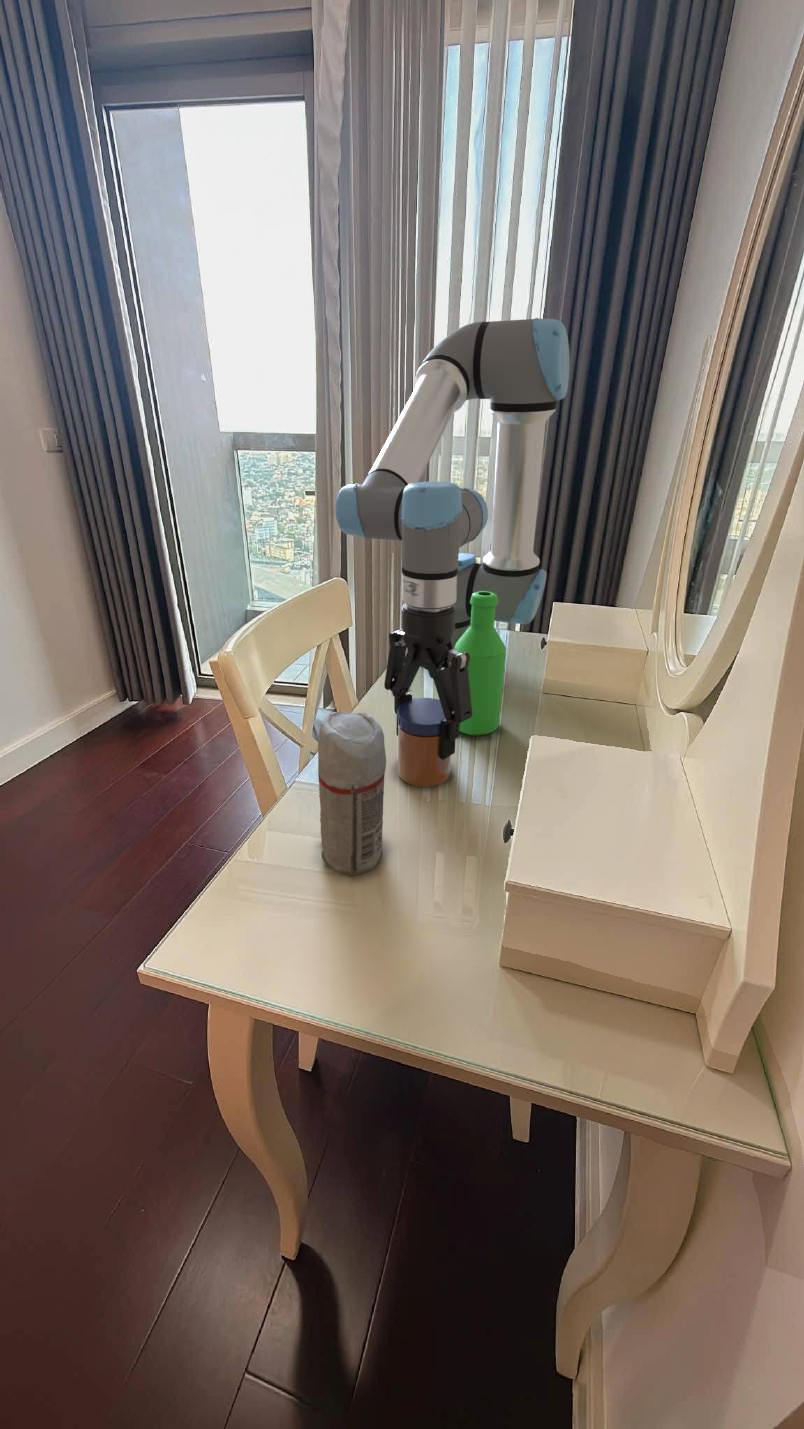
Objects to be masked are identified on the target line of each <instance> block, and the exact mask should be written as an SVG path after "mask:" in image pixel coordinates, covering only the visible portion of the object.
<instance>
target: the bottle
mask: <svg viewBox="0 0 804 1429" xmlns="http://www.w3.org/2000/svg"><path fill="white" fill-rule="evenodd" d="M470 604H471V605H472V609H471V625H470V627H469V628H468V629H467V630H466V632H465V633H464V634H463V635H462V637H461V638H460V639H459V640H458V642H457V643H456V645H455V649H454V650H456V651H458V652H459V653H464V652H468V653H469V655H470V660H469V665H468V676H469V686H470V696H471V705H472V717H471V718H469V719H467V720H465V721H463V722H461V723H460V729H459V733H462V734H464V735H467V736H472V737H473V736H476V737H479V736H485V735H489V734H491V733H493V732H494V731H496V730H497V729H498V728H499V724H500V718H501V707H502V698H503V688H504V676H505V667H506V656H507V647H506V645H505V644H504V642H503V640H502V638H501V637H500V635H499V633H498V632H497V629H496V628H495V621H494V619H495V606H497V605H498V598H497V595H496V594H494V593H492V592H488V591H479V592H475V593H473V594H472V597H471V600H470Z"/></svg>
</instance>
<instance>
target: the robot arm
mask: <svg viewBox="0 0 804 1429" xmlns="http://www.w3.org/2000/svg"><path fill="white" fill-rule="evenodd" d="M569 380H570V344H569V336H568V333H567V329H566V326H565V324H563V322H562V321H560V320H559V319H554V318H539V317H535V318H528V319H527V318H526V319H510V320H495V321H493V320H492V321H486V320H485V321H475V322H471V323H468V324H465V325H464V326H461V327H459V328H457V329H456V330H454V331H453V332H451V333H450V334H449V335H447V336H446V337H445V338H443V339H442V340H441V341H439V343H438V344H436V345H435V346H434V347H433V348H432V349H431V351H430V352H428V354H427V355H426V357H425V358H424V359H423V361H422V362H421V364H420V366H419V368H418V369H417V372H416V374H415V377H414V390H413V392H412V394H411V395H410V396H409V399H408V401H407V402H406V404H405V406H404V408H403V410H402V411H401V413H400V415H399V418H398V419H397V421H396V423H395V425H394V427H393V428H392V431H391V432H390V434H389V436H388V437H387V438H386V442H385V443H384V445H383V447H382V448H381V451H380V453H379V455H378V456H377V458H376V460H375V462H374V463H373V466H372V467H371V469H370V471H369V472H368V475H367V476H366V477H365V480H363V482H362V484H360V483H357V482H355V483H353V484H346V485H345V486H342V487H341V489H340V490H339V492H338V494H337V496H336V500H335V507H334V508H335V519H336V522H337V523H338V527H339V529H340V531H341V532H342V533H344V534H345V535H348V536H352V537H358V538H362V539H363V538H364V539H366V540H368V539H372V540H373V539H374V540H387V541H400V542H401V601H402V603H403V605H402V606H401V622H400V623H401V626H400V627H401V629H398V630H395V631H393V632H390V633H388V641H389V652H388V658H387V665H386V670H385V677H384V684H383V685H384V689H385V690H386V691H391V694H392V696H393V699H394V700H393V701H394V702H393V704H394V706H393V708H394V713H395V715H397V711H398V708H399V706H400V705H401V704H402V703H404V702H406V701H408V700H411V699H413V694H411V693H410V692H412V689H411V686H412V685H413V683H414V680H415V678H416V675H417V674H418V672H419V669H420V667H422V668H424V669H425V670H427V672H428V675H429V677H430V678H431V679H432V680H433V683H434V686H435V690H436V692H437V695H438V700H440V703H441V706H442V709H443V712H444V716H445V718H444V719H442V720H441V727H440V751H439V758H441V759H442V760H443V759H445V758H447V757H449V756H450V755H451V756H452V755H455V753H456V740H457V739H458V738H459V737H460V731H459V729H460V723H461V722H463V721H465V720H467V719H469V718H471V717H472V705H471V696H470V686H469V676H468V665H469V660H470V655H469V653H468V652H464V653H459V652H458V651H456V650H454V649H455V645H456V643H457V642H458V640H459V639H460V638H461V637H462V635H463V634H464V633H465V632H466V630H467V629H468V628H469V627H470V625H471V609H472V605H471V604H470V600H471V597H472V594H473V593H475V592H479V591H488V592H492V593H494V594H496V595H497V598H498V605H497V606H495V619H494V622H501V623H506V624H509V625H512V624H517V625H519V624H520V625H527V624H530V623H531V622H532V621H533V620H534V618H535V617H536V615H537V612H538V610H539V606H540V604H541V600H542V597H543V594H544V590H545V587H546V583H547V574H548V573H547V571H546V570H544V569H543V568H540V562H541V560H540V557H539V556H538V555H536V554H535V551H534V545H535V534H536V525H537V514H538V506H539V505H538V504H539V495H540V494H539V493H540V485H541V474H542V465H543V464H542V463H543V453H544V444H545V434H546V423H547V420H548V419H549V418H550V417H551V416H552V415H553V414H554V413H556V409H557V402H558V401H560V400H563V399H565V397H566V395H567V393H568V388H569ZM477 399H479V400H490V404H489V412H490V413H491V415H492V416H493V417H494V419H495V420H496V421H497V430H496V448H495V465H494V466H495V468H494V483H493V484H494V485H493V503H492V506H493V507H492V520H491V521H492V522H491V538H490V539H491V540H490V551H489V552H488V553H486V554H485V555H484V556H483V557H482V563H479V562H477V560H478V559H477V557H476V555H475V554H473V553H472V554H471V553H468V552H460V548H461V547H463V546H465V545H467V544H469V543H471V542H473V541H475V540H476V539H477V537H478V536H479V535H480V534H481V533H482V532H483V531H484V530H485V528H486V526H487V523H488V519H489V508H488V504H487V502H486V500H485V498H484V497H483V495H482V494H480V493H479V491H477V490H475V489H474V488H470V487H459V486H458V485H457V484H456V483H453V482H448V481H447V482H446V481H420V480H421V479H422V476H423V475H424V472H425V470H426V469H427V466H428V465H429V462H430V460H431V459H432V456H433V454H434V452H435V449H436V448H437V446H438V444H439V442H440V440H441V438H442V436H443V434H444V432H445V429H446V428H447V426H448V423H449V421H450V420H451V418H452V415H453V414H454V413H456V412H458V411H459V410H460V409H461V408H462V407H463V405H464V404H465V402H467V401H469V400H477ZM452 711H453V712H452ZM396 736H397V737H398V723H397V722H396Z"/></svg>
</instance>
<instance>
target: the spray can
mask: <svg viewBox="0 0 804 1429" xmlns="http://www.w3.org/2000/svg"><path fill="white" fill-rule="evenodd" d="M317 737H318V739H317V759H318V760H317V776H318V791H319V795H318V797H319V805H320V806H319V807H320V812H319V813H320V814H319V816H320V818H319V822H320V837H321V859H322V861H323V862H324V864H325V865H326V867H328V868H330V869H332V870H334V871H336V872H338V873H340V874H345V875H347V876H353V875H357V874H363V873H367V872H369V871H371V870H372V869H373V868H374V867H376V865H377V864H378V863H379V860H380V858H381V857H382V854H383V826H384V825H383V824H384V819H383V817H384V796H385V789H384V788H385V774H386V768H387V756H386V747H385V734H384V731H383V728H382V726H381V724H380V723H379V722H378V721H377V719H375V717H373V716H372V715H371V714H369V713H367V712H353V713H350V712H347V711H344V710H343V711H333V712H328V713H327V714H326V715H325V716H324V718H323V720H322V722H321V724H320V728H319V730H318V736H317Z"/></svg>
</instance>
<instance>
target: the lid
mask: <svg viewBox="0 0 804 1429" xmlns="http://www.w3.org/2000/svg"><path fill="white" fill-rule="evenodd" d="M452 712H453V711H452ZM444 718H445V716H444V712H443V709H442V706H441V703H440V699H439V698H438V699H437V698H432V697H416V698H412V699H411V700H408V701H406V702H404V703H402V704H401V705H400V706H399V708H398V711H397V714H396V724H397V723H398V725H399V726H400V727H401V728H402V729H403V730H404V731H406V732H408V733H411V734H415V735H421V736H433V735H438V734H440V727H441V720H442V719H444Z"/></svg>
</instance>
